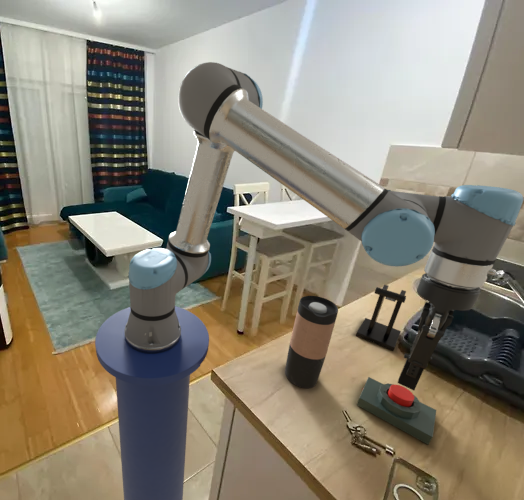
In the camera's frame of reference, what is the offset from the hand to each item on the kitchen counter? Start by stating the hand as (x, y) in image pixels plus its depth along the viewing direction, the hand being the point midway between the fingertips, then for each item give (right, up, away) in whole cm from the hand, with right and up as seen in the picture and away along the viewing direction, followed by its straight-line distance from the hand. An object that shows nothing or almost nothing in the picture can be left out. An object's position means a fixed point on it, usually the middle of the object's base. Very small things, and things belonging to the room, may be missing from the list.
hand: (406, 384), depth 57 cm
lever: (+10, +14, +17) cm, 24 cm away
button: (0, -4, +2) cm, 4 cm away
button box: (0, -7, +3) cm, 8 cm away
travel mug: (-16, -3, +11) cm, 20 cm away
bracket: (+13, +2, +26) cm, 29 cm away
